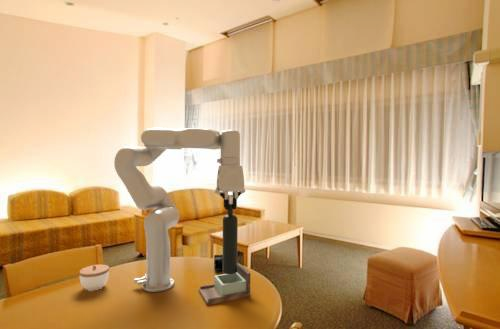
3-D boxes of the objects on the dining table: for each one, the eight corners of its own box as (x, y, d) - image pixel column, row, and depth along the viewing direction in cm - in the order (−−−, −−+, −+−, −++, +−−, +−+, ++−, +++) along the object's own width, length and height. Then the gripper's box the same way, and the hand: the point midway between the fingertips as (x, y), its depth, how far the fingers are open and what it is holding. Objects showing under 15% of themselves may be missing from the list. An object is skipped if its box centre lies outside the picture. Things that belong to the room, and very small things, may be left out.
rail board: (207, 305, 105) (207, 280, 104) (198, 291, 116) (198, 268, 115) (250, 296, 111) (250, 273, 111) (238, 284, 122) (238, 262, 122)
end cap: (235, 266, 143) (235, 253, 142) (235, 272, 136) (235, 257, 135) (214, 267, 142) (214, 253, 142) (213, 272, 135) (213, 258, 135)
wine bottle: (226, 275, 110) (226, 196, 110) (220, 270, 115) (220, 194, 115) (239, 272, 113) (240, 195, 113) (233, 267, 118) (233, 193, 118)
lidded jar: (82, 296, 111) (82, 272, 111) (76, 287, 119) (76, 264, 119) (112, 288, 118) (112, 265, 118) (105, 280, 126) (105, 258, 126)
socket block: (222, 297, 108) (222, 285, 108) (214, 286, 117) (214, 275, 117) (246, 292, 112) (246, 280, 112) (236, 282, 121) (237, 271, 121)
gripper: (213, 162, 107) (213, 212, 107) (252, 162, 113) (252, 209, 114) (207, 162, 114) (207, 209, 114) (245, 162, 120) (245, 206, 121)
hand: (230, 208), depth 114 cm, fingers closed on wine bottle
